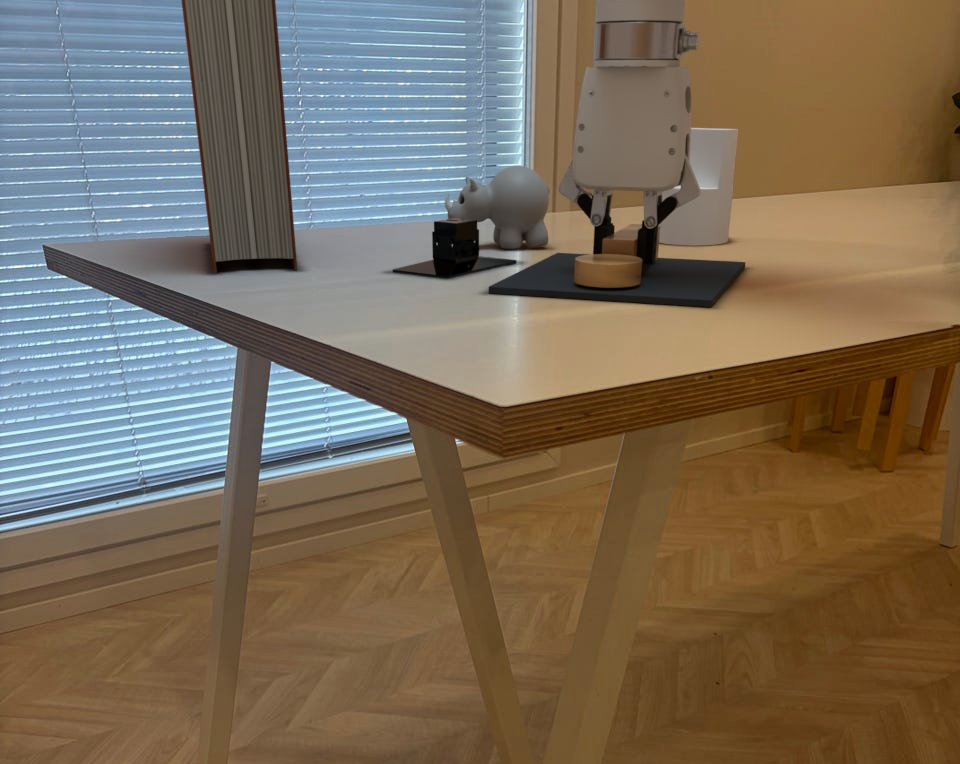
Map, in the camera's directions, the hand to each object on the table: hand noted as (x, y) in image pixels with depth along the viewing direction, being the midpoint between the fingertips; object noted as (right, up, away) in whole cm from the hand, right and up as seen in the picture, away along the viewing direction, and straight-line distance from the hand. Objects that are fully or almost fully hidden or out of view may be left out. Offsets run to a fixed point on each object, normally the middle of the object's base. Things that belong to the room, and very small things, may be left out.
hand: (623, 268), depth 98 cm
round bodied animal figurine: (-12, +10, +21) cm, 26 cm away
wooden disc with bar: (0, 0, 0) cm, 0 cm away
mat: (0, -1, +1) cm, 1 cm away
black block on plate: (-16, +3, +8) cm, 18 cm away
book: (-39, +7, +15) cm, 42 cm away
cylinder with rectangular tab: (+12, +12, +25) cm, 31 cm away
